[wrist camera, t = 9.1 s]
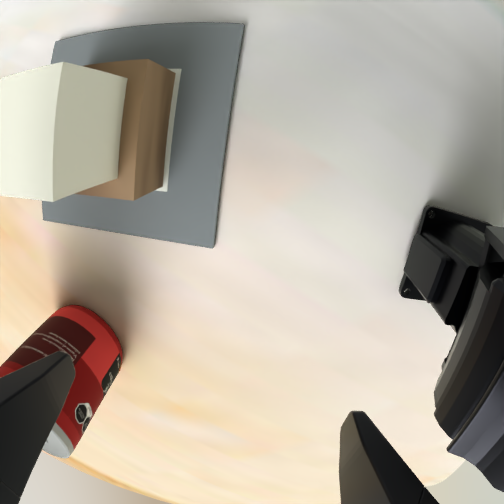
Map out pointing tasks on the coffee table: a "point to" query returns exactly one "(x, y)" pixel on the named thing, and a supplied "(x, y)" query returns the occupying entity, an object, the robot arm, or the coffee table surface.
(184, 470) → the coffee table surface
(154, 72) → the walnut base
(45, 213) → the building mat
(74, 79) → the cream cube
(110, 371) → the canned food
